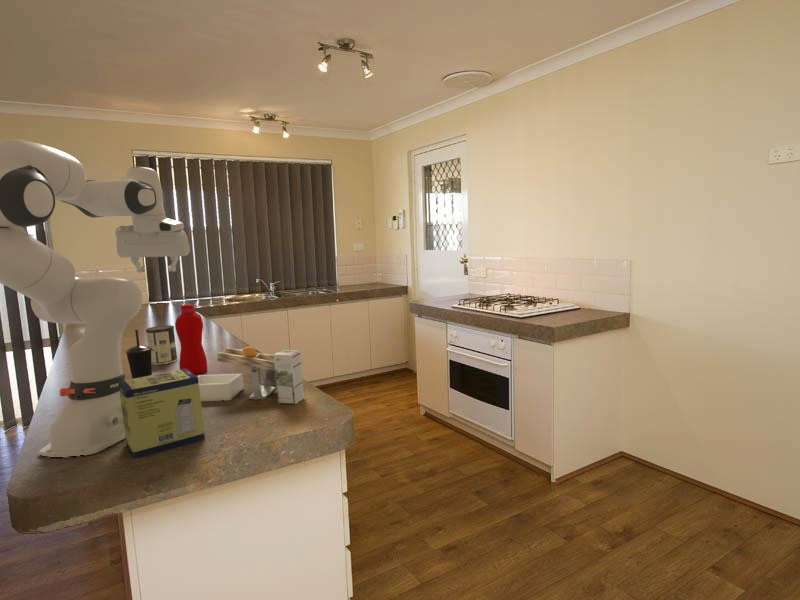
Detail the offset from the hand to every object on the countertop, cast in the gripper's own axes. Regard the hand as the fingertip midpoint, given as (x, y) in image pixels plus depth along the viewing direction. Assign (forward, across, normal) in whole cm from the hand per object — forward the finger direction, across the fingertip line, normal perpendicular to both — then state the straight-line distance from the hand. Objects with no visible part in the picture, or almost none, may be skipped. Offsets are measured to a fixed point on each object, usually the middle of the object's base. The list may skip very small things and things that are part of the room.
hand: (156, 271), depth 148 cm
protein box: (+34, +17, -40) cm, 55 cm away
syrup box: (+36, +40, -14) cm, 56 cm away
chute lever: (+33, +27, -1) cm, 43 cm away
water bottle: (+42, -3, +24) cm, 49 cm away
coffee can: (+45, -24, +43) cm, 67 cm away
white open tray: (+38, +15, -5) cm, 41 cm away
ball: (+25, +26, -4) cm, 36 cm away
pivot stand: (+37, +30, -5) cm, 48 cm away
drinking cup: (+40, -12, +4) cm, 42 cm away
